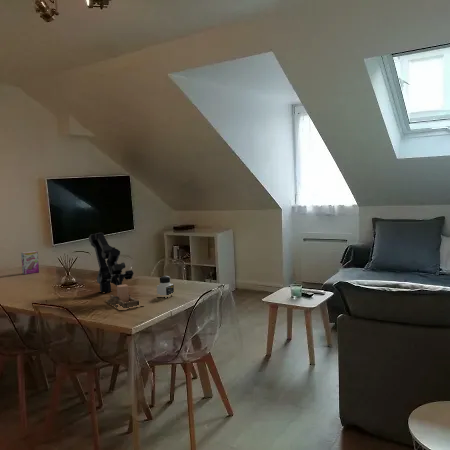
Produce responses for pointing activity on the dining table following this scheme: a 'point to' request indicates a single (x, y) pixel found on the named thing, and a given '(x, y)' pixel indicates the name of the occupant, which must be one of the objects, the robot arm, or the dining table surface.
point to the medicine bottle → (165, 286)
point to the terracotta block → (123, 292)
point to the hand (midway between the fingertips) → (120, 288)
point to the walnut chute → (115, 300)
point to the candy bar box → (30, 262)
